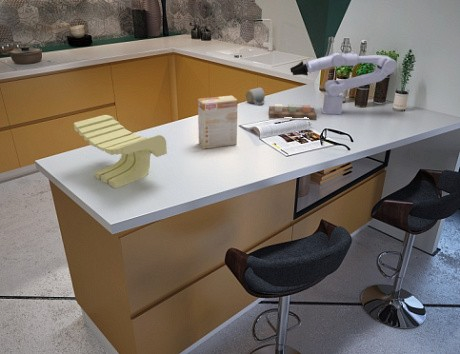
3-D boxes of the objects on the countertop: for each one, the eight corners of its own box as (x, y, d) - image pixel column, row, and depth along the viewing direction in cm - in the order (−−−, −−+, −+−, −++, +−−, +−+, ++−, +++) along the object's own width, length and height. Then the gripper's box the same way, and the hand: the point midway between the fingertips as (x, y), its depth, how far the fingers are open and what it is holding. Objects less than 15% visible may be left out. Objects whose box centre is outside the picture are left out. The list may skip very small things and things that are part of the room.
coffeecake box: (231, 139, 188) (232, 95, 179) (237, 144, 182) (238, 99, 173) (198, 143, 183) (197, 98, 174) (203, 149, 177) (202, 103, 168)
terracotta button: (309, 111, 218) (310, 105, 217) (310, 113, 215) (310, 107, 214) (302, 110, 219) (302, 105, 217) (302, 113, 215) (303, 107, 214)
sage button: (295, 110, 219) (296, 104, 217) (296, 112, 215) (296, 107, 214) (288, 110, 219) (288, 104, 218) (288, 112, 216) (289, 106, 214)
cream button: (281, 110, 219) (282, 104, 218) (282, 112, 216) (282, 106, 214) (274, 109, 219) (274, 104, 218) (274, 112, 216) (274, 106, 215)
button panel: (313, 112, 223) (313, 107, 222) (316, 120, 212) (316, 115, 211) (268, 110, 224) (269, 106, 223) (269, 118, 213) (269, 113, 212)
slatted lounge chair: (168, 180, 151) (165, 132, 143) (130, 196, 140) (125, 145, 132) (117, 156, 169) (112, 112, 161) (80, 169, 158) (73, 122, 150)
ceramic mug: (244, 101, 238) (245, 87, 235) (256, 99, 242) (257, 85, 239) (255, 106, 231) (256, 92, 227) (268, 104, 235) (269, 90, 231)
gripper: (314, 54, 219) (288, 61, 220) (319, 58, 205) (291, 66, 207) (317, 68, 221) (291, 75, 223) (322, 73, 208) (294, 80, 209)
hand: (291, 71), depth 215 cm, fingers open, 7 cm apart
